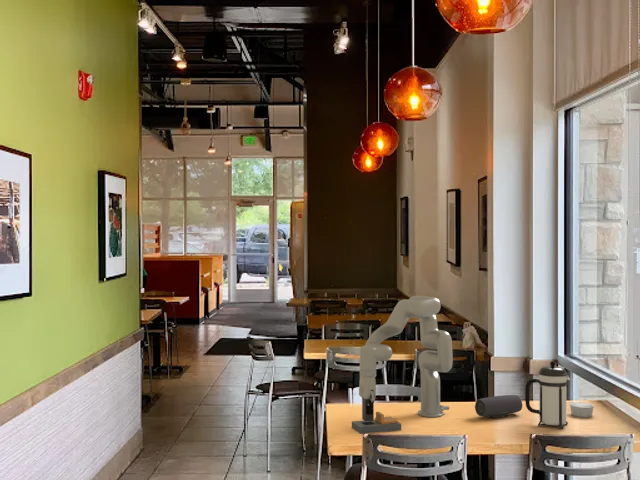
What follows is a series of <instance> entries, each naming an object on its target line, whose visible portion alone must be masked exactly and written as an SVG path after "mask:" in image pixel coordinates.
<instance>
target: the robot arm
mask: <svg viewBox="0 0 640 480" xmlns="http://www.w3.org/2000/svg"><path fill="white" fill-rule="evenodd" d="M441 305H442V304H441V301H440V299H438V298H437V297H436V296H435V297H434V296H428V295H427V296H424V295H413V296H411V297H410V298H409V299H407V298H406V299H405V298H404V299H400V300H399V301H398V302H397V303H396V305H395V307H394V309H393V310H392V312H391V314H390V316H389V317H388V319H387V321H386V322H385V323H384V324H382V325H381V326H380V327H378V328H377V329H375V330H374V331H373V332H372V333H371V334H370V336H369V337H368V339H367V340H366V341H365V345H362V346H360V348H359V387H358V395H359V397H361V399H362V398H364V399H367V406H366V414H367V415H370V414H373V406H375V405H374V404H375V402H376V398H377V397H376V396H377V382H376V377H377V362H387V361H389V360H390V359H391V358H392V356H393V350H392V348H391V347H390V345H387V344H382V342H384V341H385V340H387V339H389V338H391V337H394V336H397V335H400V334H401V333H402V332H403V330H404V328H405V327H406V325H407V323H408V322H409V320H410V319H411V318H412V319H418V320H419V327H420V329H419V330H420V331H419V332H420V342H421V346H423V347H424V348H427V349H429V350H427V349H426V350H423V351H422V352H420V353H419V356H418V365H419V371H420V410H418V411H417V415H419V416H420V417H425V418H439V417H443V416H444V411H449V410H450V406H449V405H442V404H441V378H440V374H439V372H440V373H449V371H450V370H451V369H452V367H453V361H454V360H453V359H454V358H453V356H454V355H453V341H452V340H453V339H452V336H451V335H450V333H449V332H447V331H446V330H443V329H442V330H441V329H439V327H438V319H437V318H438V317H437V316H436V315H437V314H438V313H439V312H440V311H441V307H442V306H441ZM430 349H432V350H430ZM436 350H437V351H436ZM369 397H371V399H369ZM369 400H371V401H369Z"/></svg>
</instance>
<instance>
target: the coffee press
mask: <svg viewBox="0 0 640 480" xmlns="http://www.w3.org/2000/svg"><path fill="white" fill-rule="evenodd" d="M555 365H556V362H555V361H550V363H549V365H546V366H542V367H540V369H539V370H538V378H539V379H538V378H531V379H530V380H528V381H527V382H526V383H525V394H524V395H525V398H524V399H525V407H526V409H527V410H528V411H529V412H530V413H533V414H538V415H539V422H538V423H537V424H538V427H540V428H543V426H544V425H548V426H549V425H550V426H557V427H558V429H559V430H561V431H562V430H564V425H565V426H567V425H568V424H569V422H568V421H567V418H568V417H567V414H568V413H567V411H568V410H567V407H568V406H567V385H568V381H571V378H570V377H569V375H568V372H567V370H566V369H565V368H563V367H561V366H559V365H558V366H555ZM535 383H538V385H539V386H538V387H539V388H538V389H539V390H538V391H539V394H538V395H539V398H538V399H539V400H538V401H539V403H538V405H539V409H535V408H532V406H531V404H530V401H531V400H530V395H531V394H530V391H531V390H530V388H531V384H535Z"/></svg>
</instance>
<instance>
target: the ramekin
mask: <svg viewBox="0 0 640 480" xmlns="http://www.w3.org/2000/svg"><path fill="white" fill-rule="evenodd" d="M569 408H570V412H571V415H572V416H573V417H577V418H591V417H592V416H593V411H594V408H595V406H594V405H593V404H592V403H589V402H581V401H580V402H577V401H576V402H570V403H569Z"/></svg>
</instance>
